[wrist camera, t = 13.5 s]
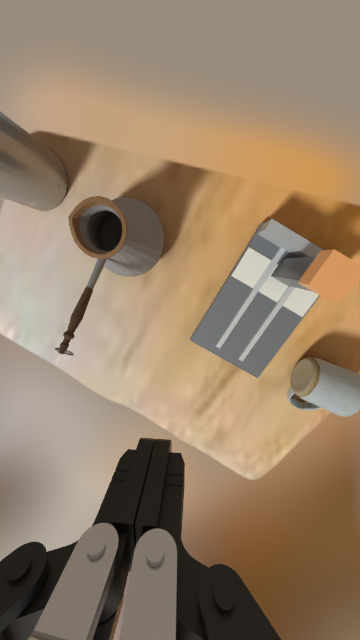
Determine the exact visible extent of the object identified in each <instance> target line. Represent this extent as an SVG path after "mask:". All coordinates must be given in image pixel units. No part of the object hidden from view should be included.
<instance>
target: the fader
mask: <svg viewBox="0 0 360 640" xmlns="http://www.w3.org/2000/svg"><path fill="white" fill-rule="evenodd" d="M271 276H272V277H273V278H275V279H277V280H279V281H280V282H282V283H284V284H285V285H287V286H291V287H295V288H300V289H304V290H308V291H312V292H314V293H316V294H318V295H319V296H321V297H323V298H324V299H326V300H329V301H332V302H336V303H339V304H341V303H342V301H343V300H344V299H345V298H346V296H347V295H348V294H349V293H350V291H351V290H352V289H353V287H354V286H355V285H356V284H357V282H358V281H359V280H360V265H359V264H358V263H356V262H355V261H353V260H351V259H350V258H348V257H346V256H345V255H343V254H341V253H340V252H338V251H336V250H335V249H332V250H322V251H320V252H319V253H318V255H317V256H316V257H300V258H285V259H282V260H281V261H280V263H279V264H278V266H277V267H276V269H275V270H274V272H273V273H272V275H271Z"/></svg>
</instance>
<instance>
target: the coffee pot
mask: <svg viewBox="0 0 360 640" xmlns="http://www.w3.org/2000/svg"><path fill="white" fill-rule="evenodd" d="M69 224H70V229H71V233H72V236H73V238H74V241H75V243H76V244H77V245H78V247H79V248H80V249H81V250H82V251H83V252H84V253H85V254H87V255H89V256H91V257H93V258H97V259H98V261H97V263H96V265H95V268H94V270H93V273H92V275H91V278H90V280H89V283H88V285H87V287H86V288H85V290H84V292H83V294H82V296H81V298H80V300H79V302H78V304H77V306H76V308H75V309H74V311H73V313H72V315H71V319H70V323H69V326H68V330H67V331H66V332H65V333H64V334H63V335H64V340H63V342H62V343H61V344H60V348H55V350H56V351H58V352H59V353H60V354H67V355H73V354H74V353H72V352H70V351H67V348H68V346H69V342H70V340H71V339H73V338H74V332H75V330H76V328H77V327H78V325H79V323H80V322H81V320H82V318H83V316H84V313H85V310H86V308H87V305H88V302H89V300H90V297H91V294H92V292H93V288H94V286H95V283H96V281H97V279H98V277H99V275H100V273H101V271H102V269H103V266H105V267H106V268H107V269H108V270H110V271H112V272H114V273H116V274H118V275H122V276H126V277H127V276H138V275H141V274H144V273H146V272H147V271H149V270H150V269H151V268H153V266H154V265H155V264H156V263H157V262H158V260H159V258H160V256H161V254H162V251H163V246H164V231H163V228H162V224H161V221H160V220H159V218H158V216H157V215H156V213H155V212H154V211H153V210H152V209H151V208H150V207H149V206H148V205H147V204H145V203H143V202H142V201H140V200H138V199H133V198H129V197H125V198H117V199H114V200H112V201H111V200H109V199H107V198H104V197H100V196H96V197H89V198H87V199H85V200H83V201H82V202H80V203H79V204H78V205H77V206H76V207H75V209H74V210H73V211H72V212H71V214H70V216H69ZM65 351H66V352H68V353H66V352H65ZM70 353H71V354H70Z"/></svg>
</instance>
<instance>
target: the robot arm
mask: <svg viewBox="0 0 360 640" xmlns="http://www.w3.org/2000/svg"><path fill="white" fill-rule="evenodd" d="M66 191H67V175H66V171H65V168H64V166H63V164H62V162H61V160H60V159H59V158H58V156H57V155H56V154H55V153H53V152H52V151H51V150H50V149H48V148H47V147H46V146H44V145H43V144H42V143H41V142H39V141H38V140H37V139H35V138H34V137H33V136H32V135H30V134H29V133H28V132H26V131H25V130H24V129H23V128H21V127H20V126H19V125H17V124H16V123H15V122H13V121H12V120H11V119H10V118H8V117H7V116H6V115H4V114H3V113H2V112H0V197H2V198H4V199H7V200H10V201H13V202H16V203H19V204H22V205H25V206H28V207H31V208H34V209H37V210H50V209H53V208H55V207H57V206H58V205H59V204H60V203H61V202H62V200H63V199H64V197H65V194H66ZM184 466H185V463H184V461H183V458H182V455H181V453H171V440H166V439H150V438H140V440H139V443H138V446H137V449H136V450H130V449H128V450H127V451H126V452H125V453H124V455H123V456H122V457H121V458H120V460H119V462H118V465H117V467H116V470H115V472H114V475H113V477H112V481H111V482H110V485H109V487H108V490H107V492H106V495H105V497H104V500H103V502H102V504H101V507H100V509H99V512H98V514H97V517H96V519H95V521H94V523H93V525H92V527H90V528H89V529H88V530H87V531H86V532H85V533H84V534H83V535H82V536H81V537H80V539H79V540H78V541H77V542H75V543H73V544H71V545H68V546H65V547H62V548H59V549H55V550H52V551H48V552H46V549H45V547H44V545H43V544H41V543H39V542H30V543H27V544H24V545H22V546H20V547H19V548H17V549H16V550H14V551H13V552H12V553H11V554H9V555H8V556H7V557H5V558H4V559H3V560H2V561H1V562H0V640H113V638H114V634H115V630H116V626H117V622H118V619H119V616H120V612H121V608H122V604H123V598H124V589H125V585H126V581H127V576H128V572H129V571H131V573H130V579H129V585H128V591H127V597H126V603H125V609H124V615H123V621H122V627H121V633H120V639H119V640H281V639H280V637H279V636H278V634H277V633H276V631H275V630H274V628H273V627H272V625H271V624H270V622H269V621H268V619H267V618H266V616H265V615H264V613H263V612H262V610H261V608H260V607H259V606H258V604H257V602H256V601H255V599H254V598H253V596H252V595H251V593H250V592H249V590H248V589H247V587H246V586H245V584H244V582H243V581H242V580H241V578H240V577H239V576H238V574H237V573H236V572H235V571H234V570H233V569H231V568H230V567H228V566H226V565H223V564H217V565H213V566H211V567H210V568H208V567H206V566H205V565H203V564H201V563H200V562H198V561H196V560H195V559H193V558H192V557H191V556H190V555H189V554H188V553H187V551H186V550H185V548H184V546H183V544H182V541H181V531H182V516H183V515H182V514H183V499H184Z"/></svg>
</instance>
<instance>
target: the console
mask: <svg viewBox="0 0 360 640" xmlns="http://www.w3.org/2000/svg"><path fill="white" fill-rule="evenodd" d="M322 250H323V249H321V248H320V247H318V246H316V245H315V244H313V243H311V242H310V241H308V240H306V239H305V238H303V237H301V236H300V235H298V234H296V233H295V232H293V231H291V230H290V229H288V228H287V227H285V226H283V225H282V224H280V223H278V222H277V221H275V220H273V219H270V220H269V221H267V222H266V223H264V222H262V223H261V224H260V225H259V227H258V229H257V230H256V232H255V234H254V235H253V237H252V238H251V240H250V242H249V243H248V245H247V247H246V248H245V250H244V252H243V253H242V255H241V256H240V258H239V260H238V261H237V263H236V265H235V266H234V268H233V270H232V271H231V273H230V274H229V276H228V278H227V279H226V281H225V283H224V284H223V286H222V288H221V289H220V291H219V292H218V294H217V296H216V297H215V299H214V301H213V302H212V304H211V306H210V307H209V309H208V310H207V312H206V314H205V315H204V317H203V319H202V320H201V322H200V323H199V325H198V327H197V328H196V330H195V332H194V333H193V335H192V337H191V339H190V340H191V341H192V342H194V343H196V344H198V345H199V346H201V347H203V348H205V349H207V350H208V351H210V352H212V353H214V354H216V355H217V356H219V357H221V358H223V359H225V360H226V361H228V362H230V363H232V364H233V365H235V366H237V367H239V368H241V369H242V370H244V371H246V372H248V373H250V374H251V375H253V376H255V377H257V378H258V377H259V376H260V374H261V373H262V372H263V370H264V369H265V368H266V366H267V365H268V364H269V362H270V361H271V360H272V358H273V357H274V356H275V354H276V353H277V352H278V350H279V349H280V348H281V346H282V345H283V344H284V342H285V341H286V340H287V339H288V337H289V336H290V335H291V333H292V332H293V331H294V329H295V328H296V327H297V325H298V324H299V323H300V321H301V320H302V319H303V317H304V316H305V315H306V313H307V312H308V311H309V309H310V308H311V307H312V305H313V304H314V303H315V301H316V300H317V299H318V298H319V295H318V294H316V293H314V292H312V291H308V290H304V289H300V288H295V287H291V286H287V285H285V284H284V283H282V282H280V281H279V280H277V279H275V278H273V277H272V276H271V275H272V273H273V272H274V270H275V269H276V267H277V266H278V264H279V263H280V261H281V260H282V259H285V258H300V257H316V256H317V255H318V253H319V252H320V251H322Z"/></svg>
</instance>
